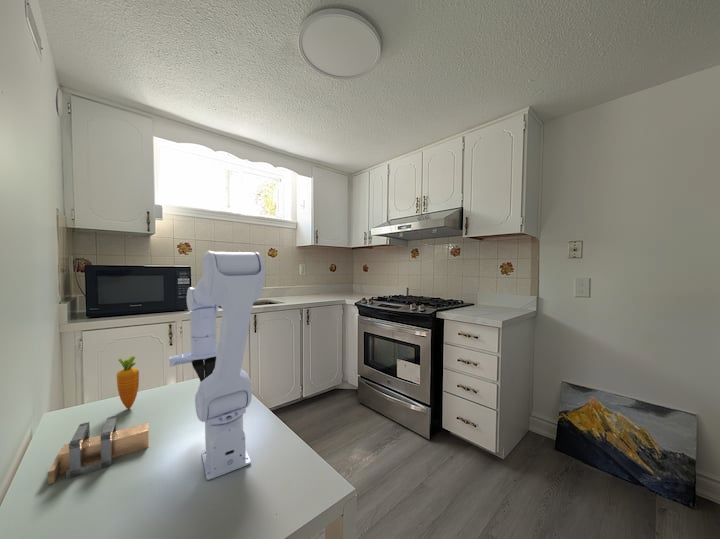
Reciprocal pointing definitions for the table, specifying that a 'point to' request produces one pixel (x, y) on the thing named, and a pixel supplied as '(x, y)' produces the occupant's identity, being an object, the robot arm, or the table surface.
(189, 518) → the table surface
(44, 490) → the table surface
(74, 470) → the gray metal beam bracket
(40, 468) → the table surface
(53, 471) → the bar
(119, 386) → the carrot
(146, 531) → the table surface
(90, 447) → the pine wood beam
